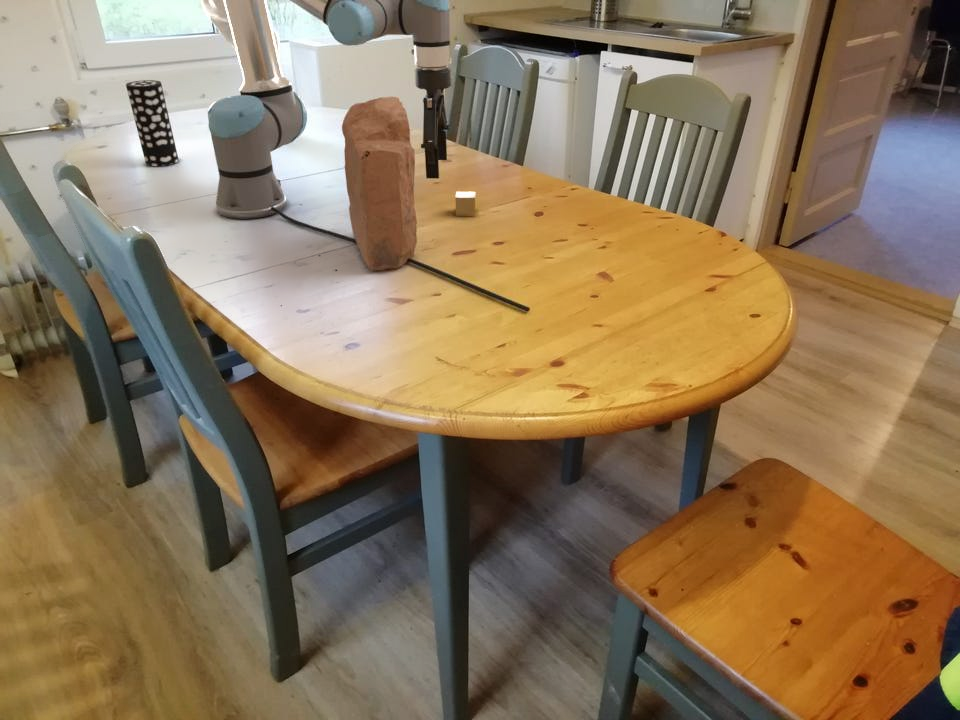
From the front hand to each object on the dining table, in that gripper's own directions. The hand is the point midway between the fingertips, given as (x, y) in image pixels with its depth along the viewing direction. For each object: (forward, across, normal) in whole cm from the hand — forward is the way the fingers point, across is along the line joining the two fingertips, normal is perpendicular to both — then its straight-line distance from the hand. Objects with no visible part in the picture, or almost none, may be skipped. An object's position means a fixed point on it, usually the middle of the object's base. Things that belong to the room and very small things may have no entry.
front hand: (437, 168), depth 154 cm
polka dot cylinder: (-3, -26, -79) cm, 83 cm away
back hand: (-26, -81, -38) cm, 93 cm away
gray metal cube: (+9, +2, +6) cm, 12 cm away
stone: (+9, +25, -8) cm, 27 cm away
